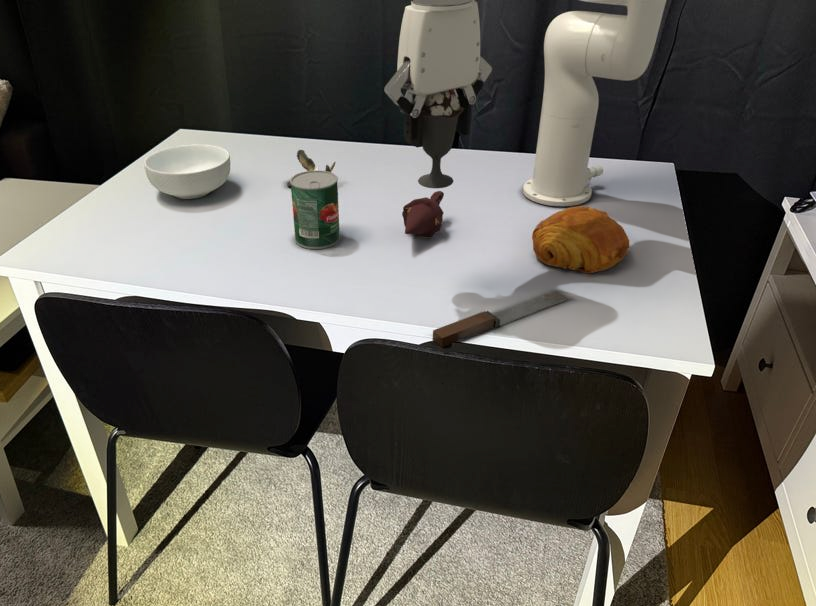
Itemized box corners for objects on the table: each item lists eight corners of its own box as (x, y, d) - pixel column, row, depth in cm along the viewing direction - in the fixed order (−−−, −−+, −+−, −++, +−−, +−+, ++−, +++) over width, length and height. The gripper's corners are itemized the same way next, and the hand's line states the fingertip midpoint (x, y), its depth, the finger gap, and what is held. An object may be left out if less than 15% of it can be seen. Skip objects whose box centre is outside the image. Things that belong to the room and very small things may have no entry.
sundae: (464, 174, 101) (471, 63, 92) (453, 193, 96) (460, 78, 87) (418, 170, 103) (421, 61, 94) (406, 188, 98) (408, 75, 89)
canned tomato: (294, 230, 127) (289, 171, 120) (337, 227, 127) (335, 168, 121) (296, 251, 121) (291, 190, 114) (342, 247, 121) (339, 186, 114)
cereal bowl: (248, 193, 141) (244, 159, 137) (171, 216, 134) (164, 180, 130) (211, 169, 153) (206, 136, 149) (137, 188, 146) (130, 155, 141)
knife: (555, 291, 107) (556, 282, 106) (568, 300, 105) (570, 290, 104) (431, 338, 98) (431, 329, 97) (443, 348, 96) (443, 339, 95)
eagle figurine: (338, 173, 145) (299, 160, 147) (334, 152, 138) (293, 138, 140) (322, 204, 143) (283, 190, 145) (316, 184, 136) (276, 169, 138)
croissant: (514, 264, 118) (514, 222, 113) (575, 224, 124) (577, 183, 119) (587, 296, 109) (590, 251, 103) (649, 251, 114) (655, 207, 109)
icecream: (433, 222, 113) (463, 195, 124) (392, 204, 115) (425, 178, 126) (420, 259, 117) (450, 229, 128) (380, 241, 119) (413, 213, 130)
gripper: (481, -22, 91) (471, 118, 102) (364, -3, 85) (367, 144, 95) (520, -14, 85) (506, 132, 96) (398, 7, 79) (398, 161, 90)
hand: (437, 137), depth 96 cm, fingers closed on sundae, 6 cm apart
